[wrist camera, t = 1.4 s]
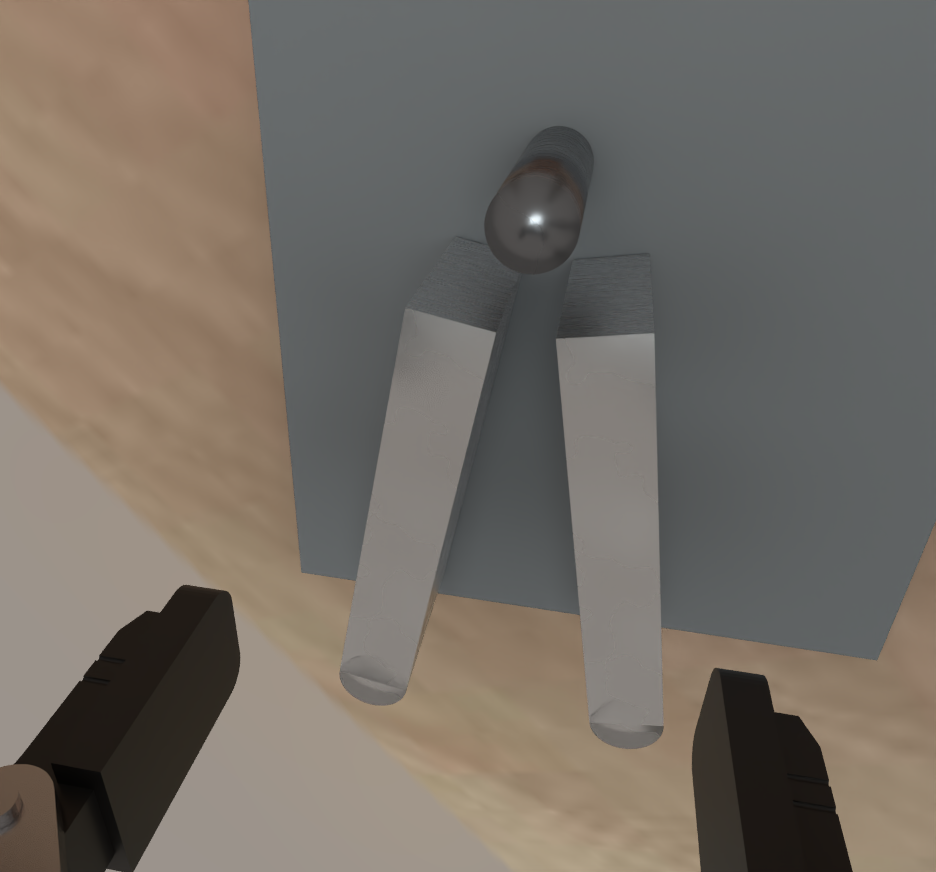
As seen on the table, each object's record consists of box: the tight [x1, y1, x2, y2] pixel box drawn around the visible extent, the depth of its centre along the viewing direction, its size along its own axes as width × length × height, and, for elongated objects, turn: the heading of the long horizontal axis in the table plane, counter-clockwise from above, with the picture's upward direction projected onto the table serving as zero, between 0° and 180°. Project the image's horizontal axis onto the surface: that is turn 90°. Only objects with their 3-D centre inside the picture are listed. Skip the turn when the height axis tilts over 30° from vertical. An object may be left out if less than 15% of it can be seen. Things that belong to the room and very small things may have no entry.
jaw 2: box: [556, 254, 663, 749], centre depth 21 cm, size 12×2×6 cm, turn 7°
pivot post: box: [484, 126, 594, 275], centre depth 17 cm, size 2×2×6 cm
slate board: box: [248, 0, 936, 660], centre depth 21 cm, size 20×24×1 cm
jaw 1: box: [340, 237, 522, 705], centre depth 22 cm, size 12×2×6 cm, turn 167°
